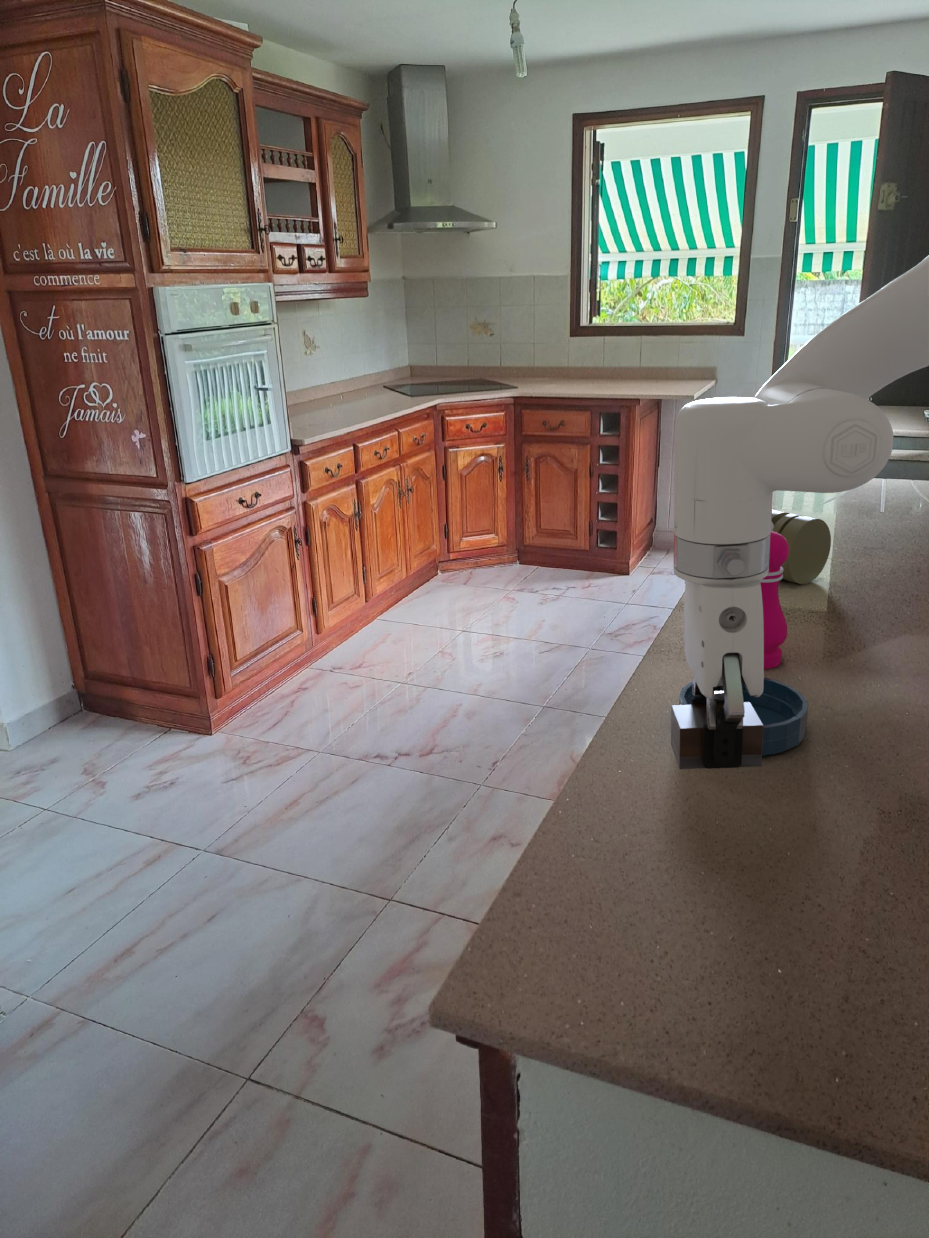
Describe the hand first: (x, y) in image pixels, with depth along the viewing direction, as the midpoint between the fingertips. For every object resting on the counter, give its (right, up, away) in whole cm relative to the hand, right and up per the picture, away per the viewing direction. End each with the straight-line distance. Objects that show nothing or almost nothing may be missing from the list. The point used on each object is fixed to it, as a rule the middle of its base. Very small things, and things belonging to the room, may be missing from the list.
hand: (715, 749), depth 78 cm
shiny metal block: (0, -1, 0) cm, 1 cm away
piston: (+33, +19, +78) cm, 87 cm away
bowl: (+10, -1, +26) cm, 28 cm away
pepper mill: (+18, +6, +44) cm, 48 cm away
